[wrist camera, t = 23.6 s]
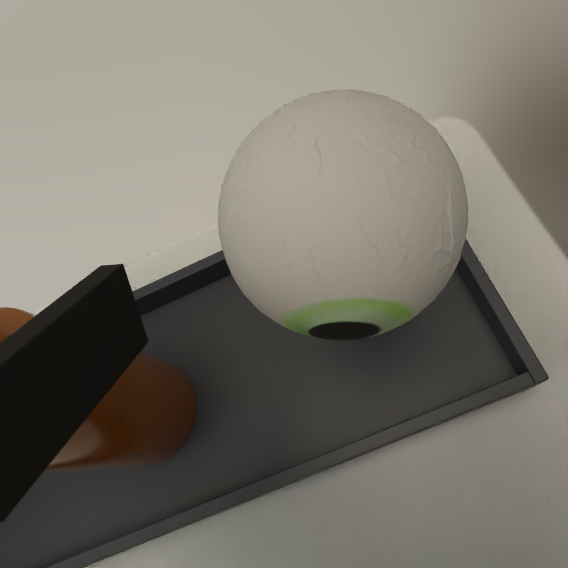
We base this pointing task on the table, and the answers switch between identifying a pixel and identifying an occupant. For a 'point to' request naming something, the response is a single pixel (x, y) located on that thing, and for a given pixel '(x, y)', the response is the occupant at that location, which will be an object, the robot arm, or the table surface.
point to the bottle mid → (126, 414)
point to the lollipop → (342, 215)
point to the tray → (272, 407)
